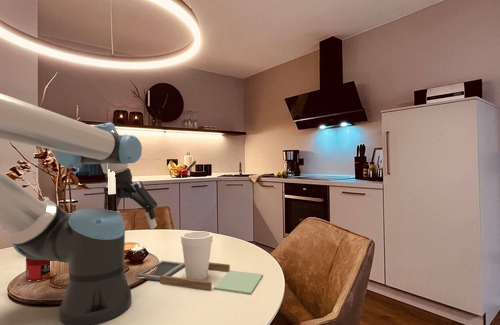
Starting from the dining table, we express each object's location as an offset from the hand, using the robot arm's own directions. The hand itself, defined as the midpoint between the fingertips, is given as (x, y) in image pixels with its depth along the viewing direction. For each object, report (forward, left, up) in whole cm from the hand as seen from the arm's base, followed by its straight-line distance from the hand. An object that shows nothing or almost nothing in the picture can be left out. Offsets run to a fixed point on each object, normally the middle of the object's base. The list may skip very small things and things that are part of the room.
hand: (137, 228), depth 94 cm
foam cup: (-2, -24, -13) cm, 27 cm away
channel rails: (-2, -24, -13) cm, 27 cm away
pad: (-2, -38, -13) cm, 40 cm away
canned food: (-16, +22, -13) cm, 30 cm away
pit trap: (-2, -11, -13) cm, 17 cm away
